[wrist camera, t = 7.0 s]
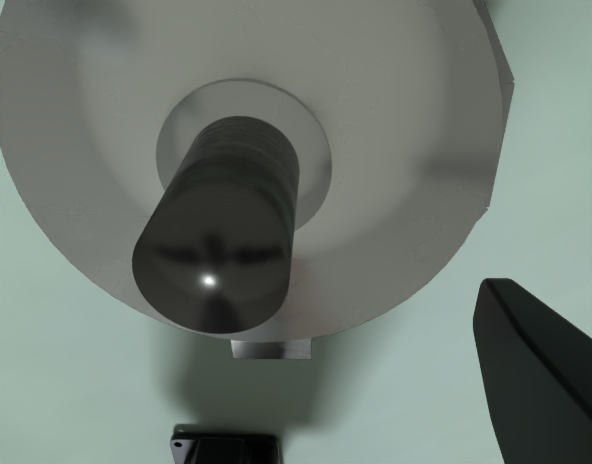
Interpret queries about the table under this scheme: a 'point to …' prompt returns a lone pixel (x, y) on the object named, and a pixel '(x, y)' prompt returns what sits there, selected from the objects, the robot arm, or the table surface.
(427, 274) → the lid
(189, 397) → the table surface
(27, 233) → the table surface
